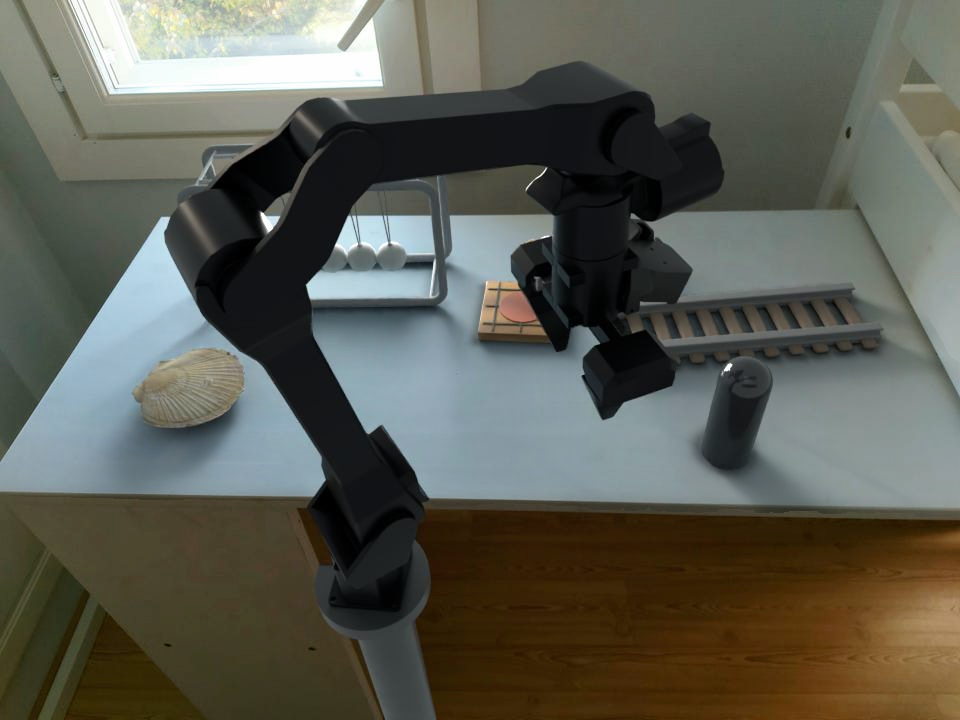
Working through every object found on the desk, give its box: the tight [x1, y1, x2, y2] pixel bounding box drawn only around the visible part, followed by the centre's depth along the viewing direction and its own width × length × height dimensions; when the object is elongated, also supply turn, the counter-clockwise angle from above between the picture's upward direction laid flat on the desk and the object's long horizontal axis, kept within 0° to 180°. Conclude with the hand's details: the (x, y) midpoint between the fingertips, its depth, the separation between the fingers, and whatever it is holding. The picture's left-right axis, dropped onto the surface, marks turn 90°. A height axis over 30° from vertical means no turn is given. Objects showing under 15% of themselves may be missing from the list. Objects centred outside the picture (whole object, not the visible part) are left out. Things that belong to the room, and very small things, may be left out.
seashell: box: [131, 347, 246, 429], centre depth 84 cm, size 12×12×3 cm
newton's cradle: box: [176, 143, 453, 309], centre depth 93 cm, size 30×10×18 cm, turn 88°
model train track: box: [618, 281, 884, 366], centre depth 89 cm, size 11×31×2 cm, turn 94°
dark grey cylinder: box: [700, 355, 774, 470], centre depth 72 cm, size 5×5×12 cm
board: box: [477, 280, 551, 344], centre depth 92 cm, size 10×10×1 cm
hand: (582, 382), depth 67 cm, fingers open, 9 cm apart
